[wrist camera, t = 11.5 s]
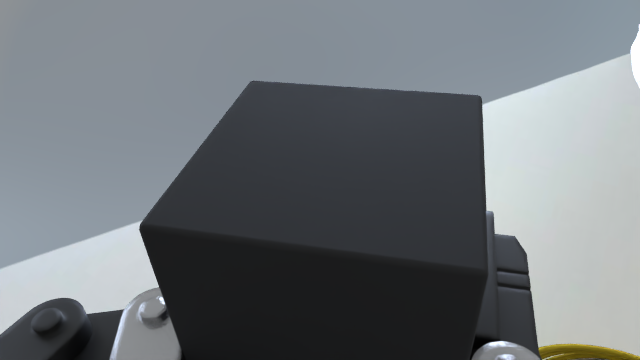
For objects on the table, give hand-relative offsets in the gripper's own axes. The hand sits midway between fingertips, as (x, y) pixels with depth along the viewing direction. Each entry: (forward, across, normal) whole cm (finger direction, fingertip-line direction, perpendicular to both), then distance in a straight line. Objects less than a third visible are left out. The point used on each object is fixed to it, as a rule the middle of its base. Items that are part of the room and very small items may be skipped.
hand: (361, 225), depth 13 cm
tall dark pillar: (-3, 0, +6) cm, 7 cm away
